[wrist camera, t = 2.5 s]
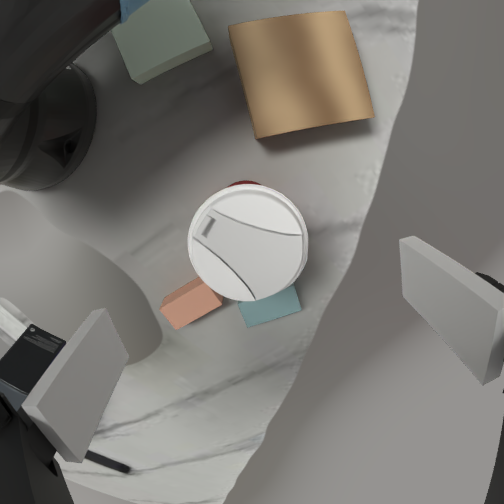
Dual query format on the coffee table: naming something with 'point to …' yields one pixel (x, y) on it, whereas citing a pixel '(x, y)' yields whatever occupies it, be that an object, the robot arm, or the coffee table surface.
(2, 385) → the box
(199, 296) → the brick
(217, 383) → the coffee table surface
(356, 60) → the oak block
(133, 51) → the sage pad
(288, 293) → the brick
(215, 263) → the paper cup
